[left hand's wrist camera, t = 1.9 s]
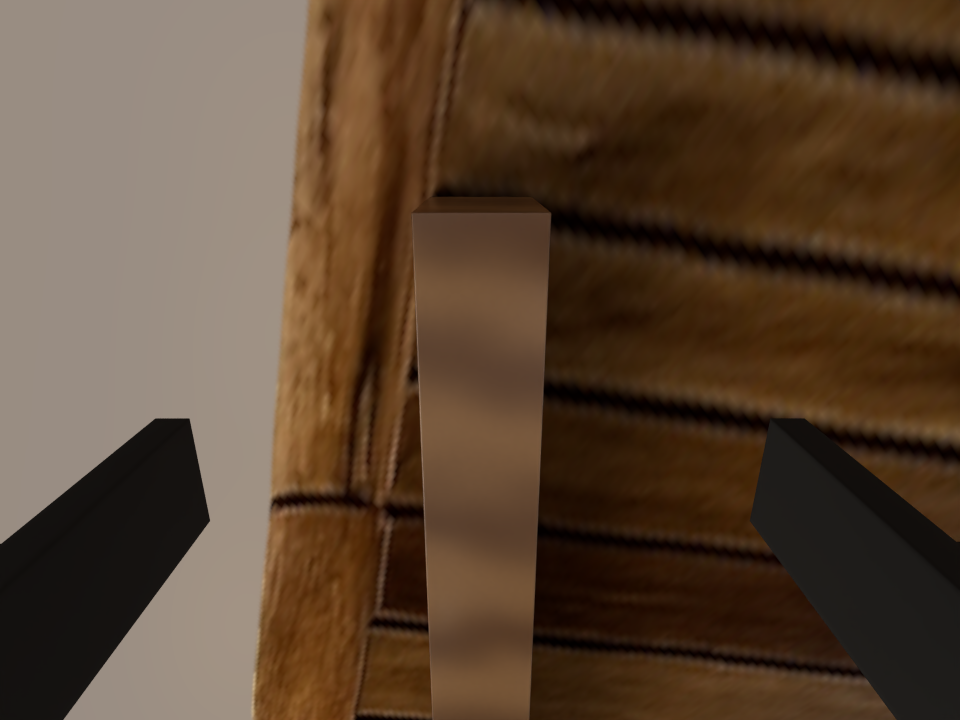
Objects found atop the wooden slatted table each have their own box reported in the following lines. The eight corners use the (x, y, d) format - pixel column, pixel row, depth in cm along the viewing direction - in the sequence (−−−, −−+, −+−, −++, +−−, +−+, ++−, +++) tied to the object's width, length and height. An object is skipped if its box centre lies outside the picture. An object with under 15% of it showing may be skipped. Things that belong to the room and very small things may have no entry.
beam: (429, 196, 26) (411, 212, 19) (532, 196, 25) (551, 212, 19) (449, 849, 42) (443, 986, 35) (511, 849, 42) (517, 986, 35)
